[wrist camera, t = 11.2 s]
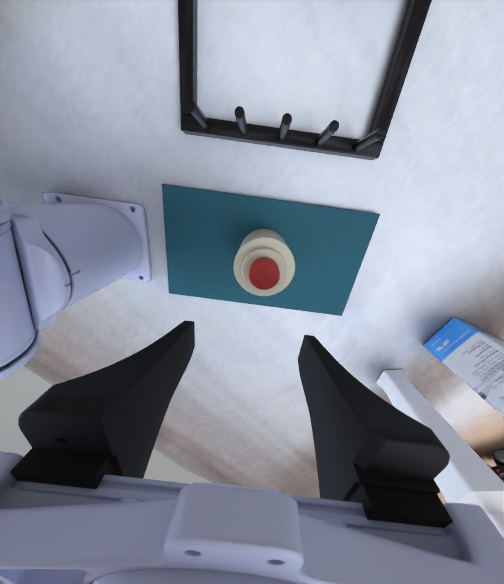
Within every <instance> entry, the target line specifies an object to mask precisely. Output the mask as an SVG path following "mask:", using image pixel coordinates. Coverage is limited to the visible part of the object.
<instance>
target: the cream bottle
mask: <svg viewBox="0 0 504 584" xmlns="http://www.w3.org/2000/svg"><path fill="white" fill-rule="evenodd" d="M294 272H295V261H294V257H293V255H292V253H291V251H290V249H289V248H288V246H287V244H286V242H285V241H284V239H283V238H282V237H281V236H280V235H279V234H278V233H277V232H275V231H273V230H270V229H258V230H255V231H253V232H251V233H250V234H248V235H247V236H246V237H245V239H244V240H243V242H242V244H241V246H240V248H239V250H238V252H237V255H236V257H235V260H234V274H235V277H236V279H237V281H238V283H239V284H240V285H241V286H242V288H244V289H245V290H246V291H248V292H249V293H252V294H254V295H258V296H270V295H274V294H276V293H279V292H280V291H282V290H283V289H285V288H286V287H287V286H288V284H289V283H290V282H291V280H292V278H293V275H294Z"/></svg>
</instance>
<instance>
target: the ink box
mask: <svg viewBox="0 0 504 584" xmlns="http://www.w3.org/2000/svg"><path fill="white" fill-rule="evenodd" d="M424 347H425V348H426V349H428V350H429V351H430V352H431V353H432V354H433V355H434V356H435V357H437V358H438V359H439V360H440V361H441V362H442V363H443V364H445V365H446V366H447V367H448V368H449V369H450V370H451V371H453V372H454V373H455V374H456V375H457V376H458V377H459V378H461V379H462V380H463V381H464V382H465V383H466V384H467V385H468V386H469V387H471V388H472V389H473V390H474V391H475V392H476V393H477V394H478V395H480V396H481V397H482V398H483V399H484V400H485V401H486V402H487V403H489V404H490V405H491V406H492V407H493V408H494V409H495V410H496V411H498V412H499V413H500V414H501V415H502V416H503V417H504V342H503V341H502V340H500V339H498V338H496V337H494V336H492V335H490V334H488V333H486V332H484V331H482V330H480V329H478V328H476V327H474V326H472V325H470V324H468V323H466V322H464V321H462V320H460V319H458V318H455V317H454V318H452V319H451V320H450V321H449V322H448V323H447V324H446V325H445V326H444V327H443V328H441V329H440V330H439V331H438V332H437V333H436V334H435V335H434V336H433V337H432V338H431V339H430V340H429V341H428V342H426V343H425V344H424Z"/></svg>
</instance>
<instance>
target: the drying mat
mask: <svg viewBox="0 0 504 584" xmlns="http://www.w3.org/2000/svg"><path fill="white" fill-rule="evenodd" d="M162 189H163V205H164V221H165V236H166V252H167V267H168V283H169V293H172V294H179V295H187V296H195V297H202V298H210V299H218V300H225V301H233V302H241V303H248V304H256V305H263V306H271V307H279V308H286V309H294V310H302V311H309V312H317V313H325V314H332V315H340V316H342V314H343V311H344V308H345V306H346V303H347V300H348V298H349V295H350V292H351V290H352V287H353V284H354V282H355V279H356V277H357V274H358V271H359V269H360V266H361V263H362V261H363V258H364V255H365V253H366V250H367V247H368V245H369V242H370V240H371V237H372V234H373V232H374V229H375V226H376V224H377V221H378V218H379V216H380V214H376V213H369V212H361V211H354V210H347V209H340V208H332V207H325V206H318V205H311V204H303V203H296V202H289V201H282V200H274V199H267V198H260V197H253V196H245V195H238V194H231V193H224V192H216V191H209V190H202V189H195V188H187V187H180V186H173V185H166V184H162ZM258 229H270V230H273V231H275V232H277V233H278V234H279V235H280V236H281V237H282V238H283V239H284V241H285V242H286V244H287V246H288V248H289V249H290V251H291V253H292V255H293V257H294V261H295V272H294V275H293V278H292V280H291V282H290V283H289V284H288V286H287V287H286V288H285V289H283V290H282V291H280V292H279V293H276V294H274V295H270V296H258V295H254V294H252V293H249V292H248V291H246V290H245V289H244V288H242V286H241V285H240V284H239V283H238V281H237V279H236V277H235V274H234V260H235V257H236V255H237V252H238V250H239V248H240V246H241V244H242V242H243V240H244V239H245V237H246V236H247V235H248V234H250V233H251V232H253V231H255V230H258Z"/></svg>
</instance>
